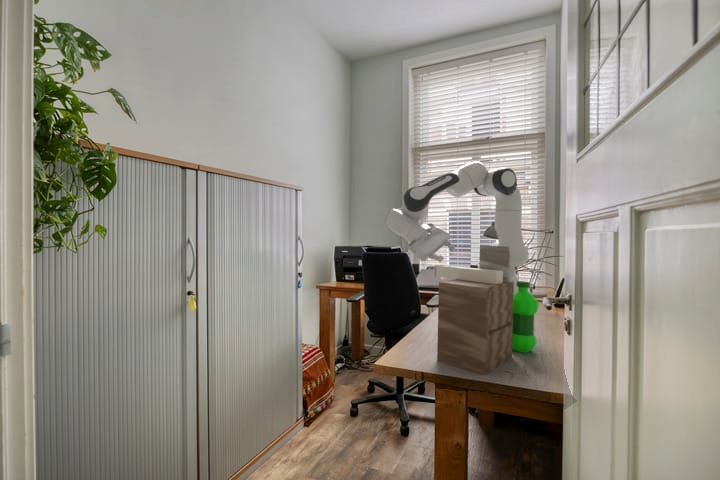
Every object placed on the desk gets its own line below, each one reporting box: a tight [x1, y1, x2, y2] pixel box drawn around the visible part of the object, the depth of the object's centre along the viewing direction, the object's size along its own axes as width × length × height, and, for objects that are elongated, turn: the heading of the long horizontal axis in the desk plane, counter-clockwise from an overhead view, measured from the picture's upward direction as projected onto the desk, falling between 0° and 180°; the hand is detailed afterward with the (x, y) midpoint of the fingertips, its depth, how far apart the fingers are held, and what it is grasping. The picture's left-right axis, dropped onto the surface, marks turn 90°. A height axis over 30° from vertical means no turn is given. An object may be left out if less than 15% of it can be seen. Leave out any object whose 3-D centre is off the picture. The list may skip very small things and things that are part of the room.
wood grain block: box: [436, 244, 514, 376], centre depth 116 cm, size 22×16×38 cm
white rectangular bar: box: [434, 264, 503, 284], centre depth 122 cm, size 5×24×4 cm, turn 41°
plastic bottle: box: [512, 280, 540, 354], centre depth 126 cm, size 10×10×25 cm
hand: (448, 255), depth 134 cm, fingers open, 8 cm apart
